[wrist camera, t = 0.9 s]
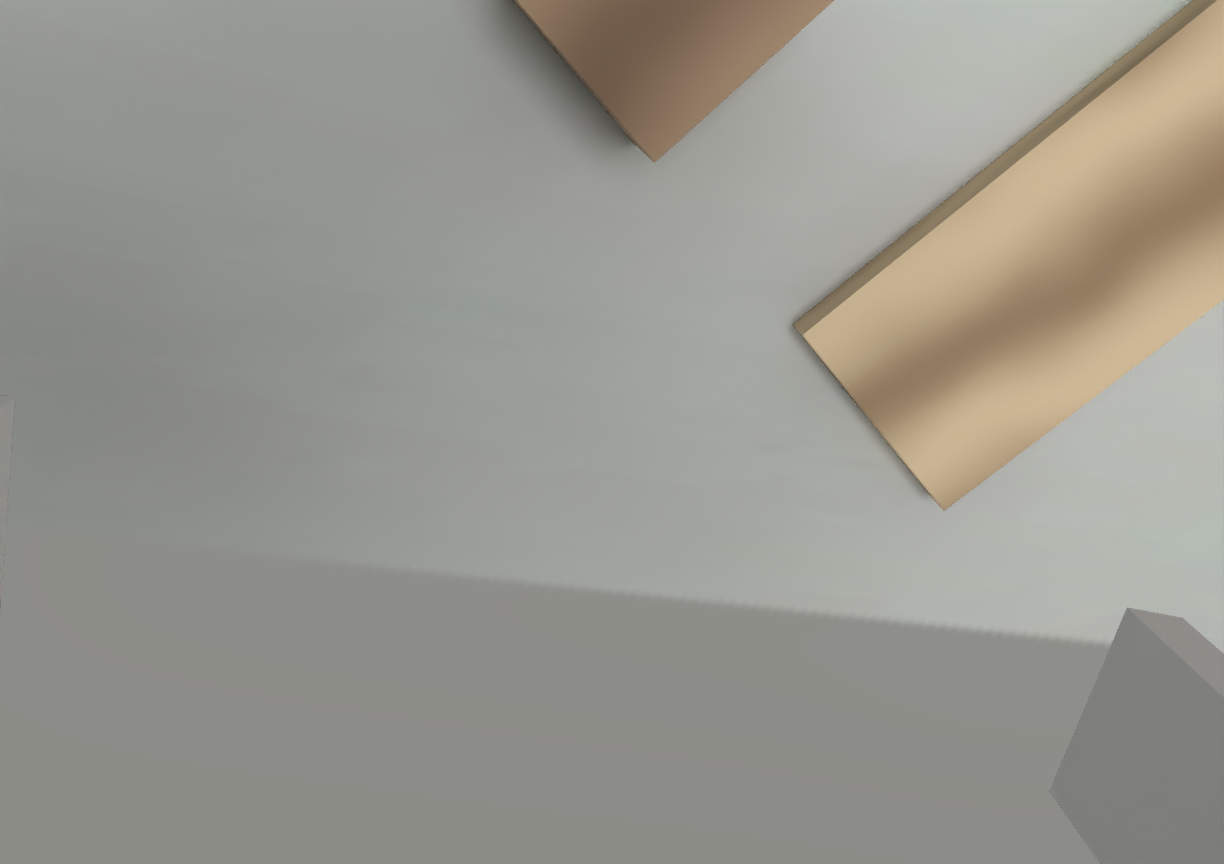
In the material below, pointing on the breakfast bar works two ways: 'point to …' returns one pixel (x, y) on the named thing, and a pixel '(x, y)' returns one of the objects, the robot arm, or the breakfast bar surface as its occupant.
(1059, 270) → the oak board
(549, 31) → the walnut block
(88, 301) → the breakfast bar surface
